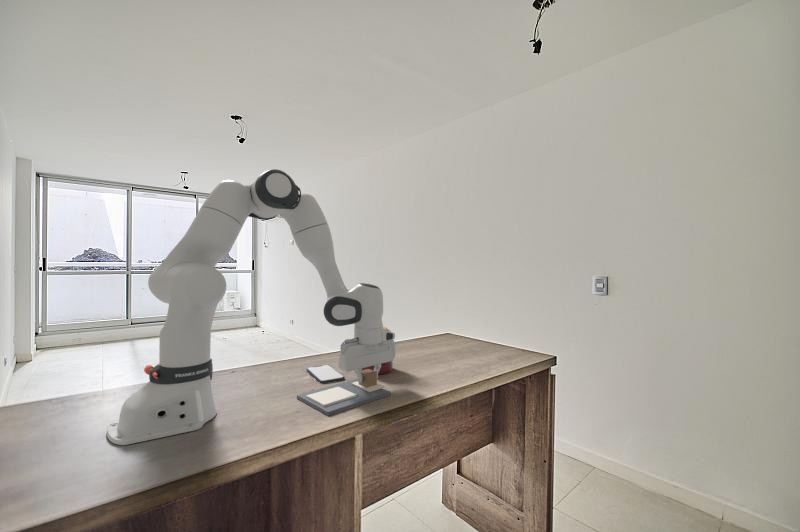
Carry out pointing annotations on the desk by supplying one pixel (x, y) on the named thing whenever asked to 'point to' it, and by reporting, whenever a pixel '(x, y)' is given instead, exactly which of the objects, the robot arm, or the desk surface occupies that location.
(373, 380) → the tan cube with base
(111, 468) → the desk surface
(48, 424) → the desk surface
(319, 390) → the board
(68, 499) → the desk surface
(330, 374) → the smartphone
